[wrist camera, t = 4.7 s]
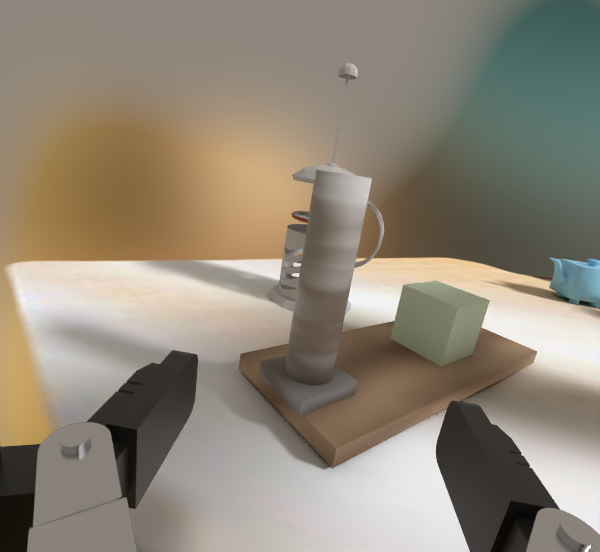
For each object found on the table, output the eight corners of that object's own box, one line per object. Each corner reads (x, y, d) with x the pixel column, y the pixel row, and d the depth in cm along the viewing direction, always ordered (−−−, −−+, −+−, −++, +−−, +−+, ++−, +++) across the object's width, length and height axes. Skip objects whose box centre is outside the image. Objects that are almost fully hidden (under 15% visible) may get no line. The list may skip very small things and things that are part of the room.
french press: (285, 280, 48) (315, 74, 41) (371, 300, 45) (419, 83, 38) (254, 300, 39) (286, 42, 32) (358, 328, 36) (418, 50, 29)
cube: (472, 354, 31) (489, 300, 30) (440, 366, 28) (458, 306, 27) (423, 329, 35) (436, 280, 33) (390, 338, 32) (403, 284, 30)
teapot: (545, 299, 60) (561, 256, 58) (528, 289, 65) (542, 249, 63) (621, 313, 59) (641, 269, 56) (597, 301, 64) (614, 261, 62)
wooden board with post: (533, 362, 34) (588, 213, 30) (329, 469, 18) (391, 180, 14) (439, 320, 41) (474, 196, 38) (236, 369, 25) (260, 161, 21)
